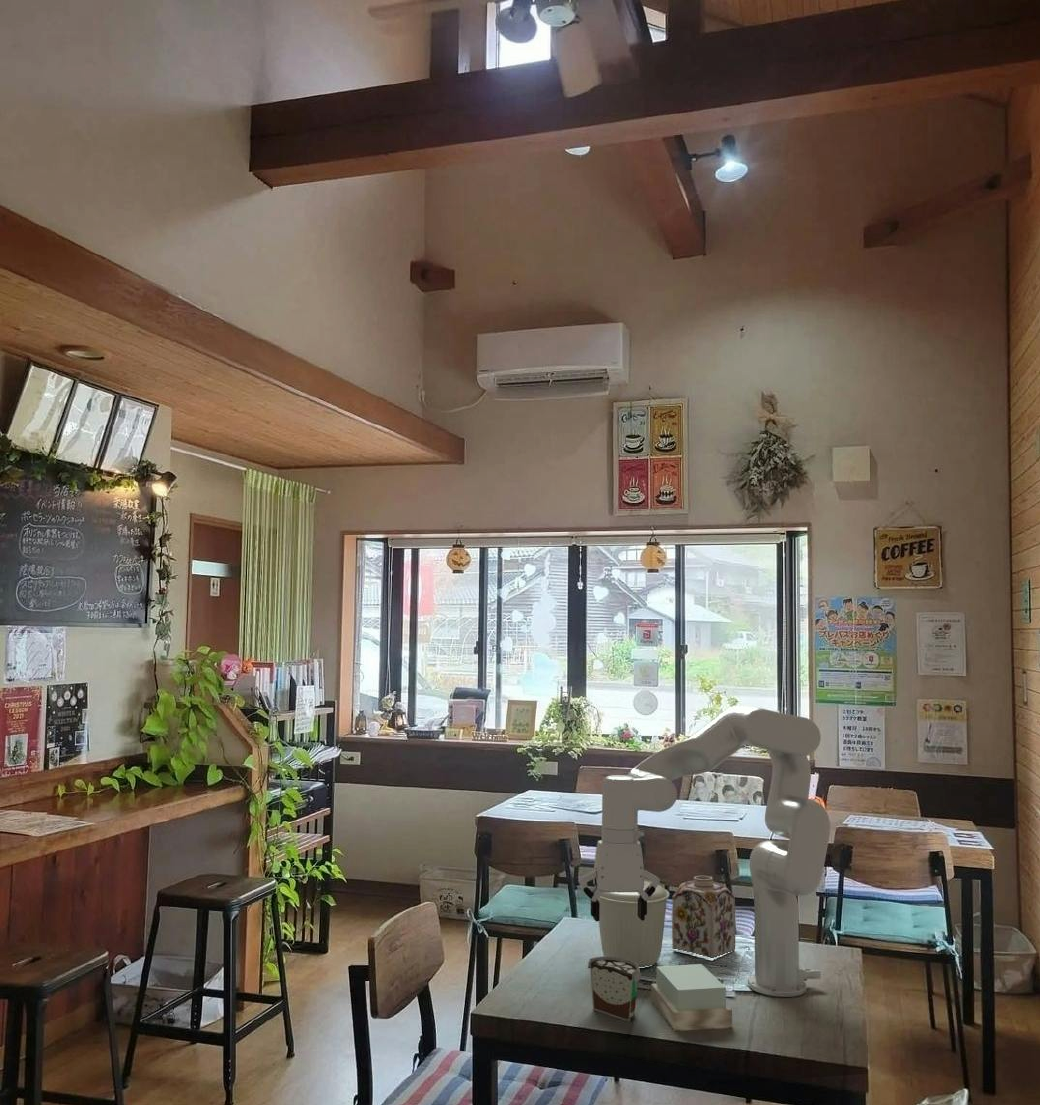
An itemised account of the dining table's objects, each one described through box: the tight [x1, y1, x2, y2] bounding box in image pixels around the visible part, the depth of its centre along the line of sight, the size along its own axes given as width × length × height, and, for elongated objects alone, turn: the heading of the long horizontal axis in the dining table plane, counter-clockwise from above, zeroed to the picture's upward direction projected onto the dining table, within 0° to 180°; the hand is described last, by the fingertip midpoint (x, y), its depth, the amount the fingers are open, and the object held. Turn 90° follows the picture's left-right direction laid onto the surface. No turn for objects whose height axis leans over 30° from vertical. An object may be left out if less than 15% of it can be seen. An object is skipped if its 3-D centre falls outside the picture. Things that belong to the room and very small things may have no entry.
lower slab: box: [650, 983, 733, 1032], centre depth 203 cm, size 12×16×4 cm
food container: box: [587, 955, 642, 1022], centre depth 204 cm, size 12×6×10 cm, turn 47°
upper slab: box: [656, 963, 727, 1011], centre depth 203 cm, size 10×14×4 cm
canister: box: [598, 880, 671, 967], centre depth 235 cm, size 18×18×21 cm
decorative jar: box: [671, 875, 736, 958], centre depth 243 cm, size 12×12×18 cm
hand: (618, 919), depth 205 cm, fingers open, 9 cm apart
